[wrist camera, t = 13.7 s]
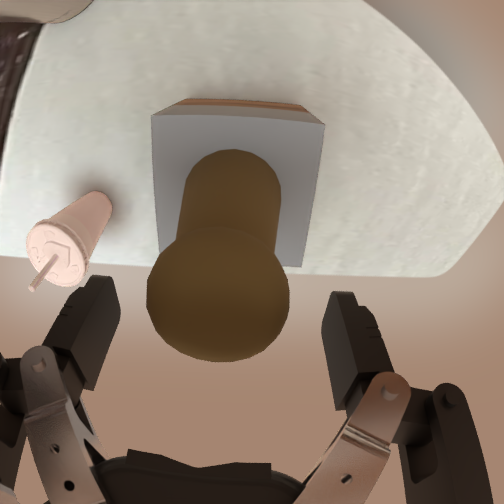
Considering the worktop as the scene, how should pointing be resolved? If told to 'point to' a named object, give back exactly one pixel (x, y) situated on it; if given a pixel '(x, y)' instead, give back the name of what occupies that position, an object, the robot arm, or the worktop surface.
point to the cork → (222, 263)
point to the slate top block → (247, 139)
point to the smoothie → (68, 240)
